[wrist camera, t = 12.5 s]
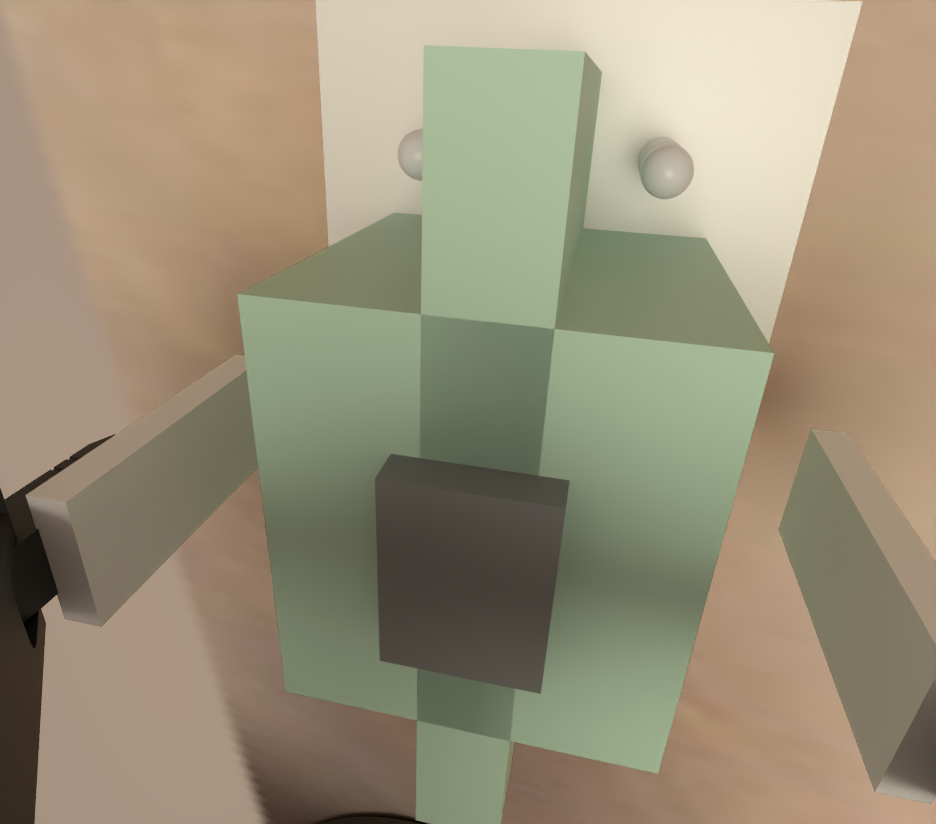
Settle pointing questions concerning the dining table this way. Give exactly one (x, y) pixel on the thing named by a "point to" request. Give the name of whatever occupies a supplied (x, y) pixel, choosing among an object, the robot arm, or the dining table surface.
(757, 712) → the dining table surface
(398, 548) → the green stepped block
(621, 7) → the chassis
